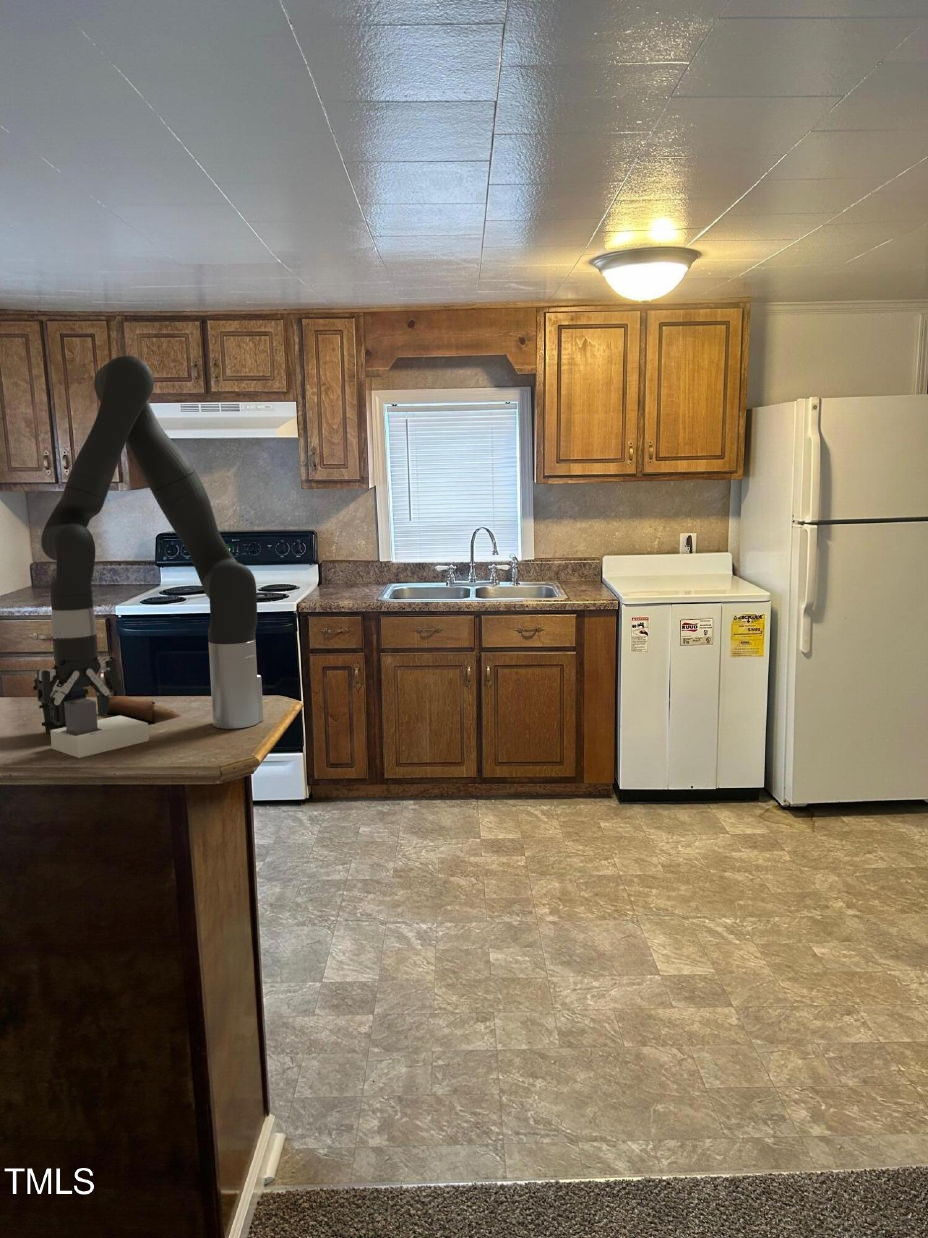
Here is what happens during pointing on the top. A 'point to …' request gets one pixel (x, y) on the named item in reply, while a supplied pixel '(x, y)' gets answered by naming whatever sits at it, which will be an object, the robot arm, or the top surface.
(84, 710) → the grey rectangular block
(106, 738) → the switch board
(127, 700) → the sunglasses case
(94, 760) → the top surface
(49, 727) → the magazine
